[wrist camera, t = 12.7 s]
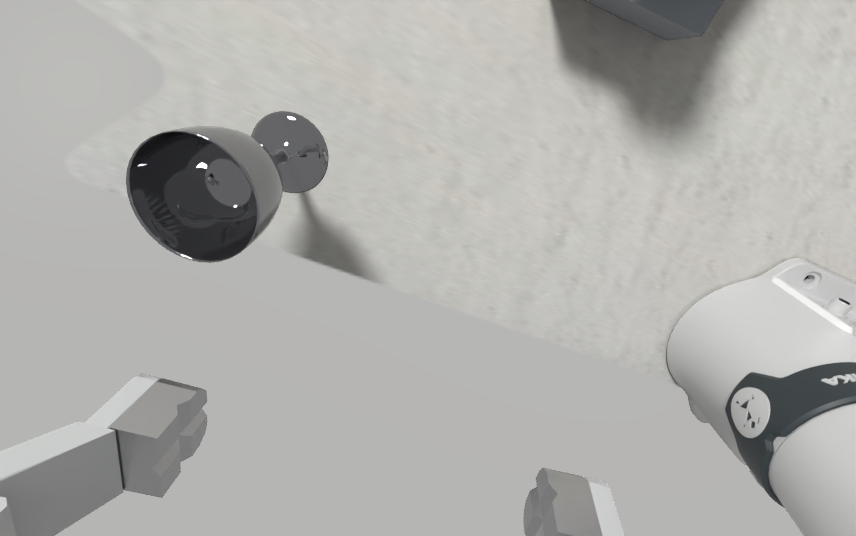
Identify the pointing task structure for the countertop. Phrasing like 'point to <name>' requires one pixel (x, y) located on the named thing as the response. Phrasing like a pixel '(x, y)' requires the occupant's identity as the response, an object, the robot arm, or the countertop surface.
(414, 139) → the countertop surface
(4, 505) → the robot arm
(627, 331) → the countertop surface
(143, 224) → the wine glass
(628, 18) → the charcoal block
